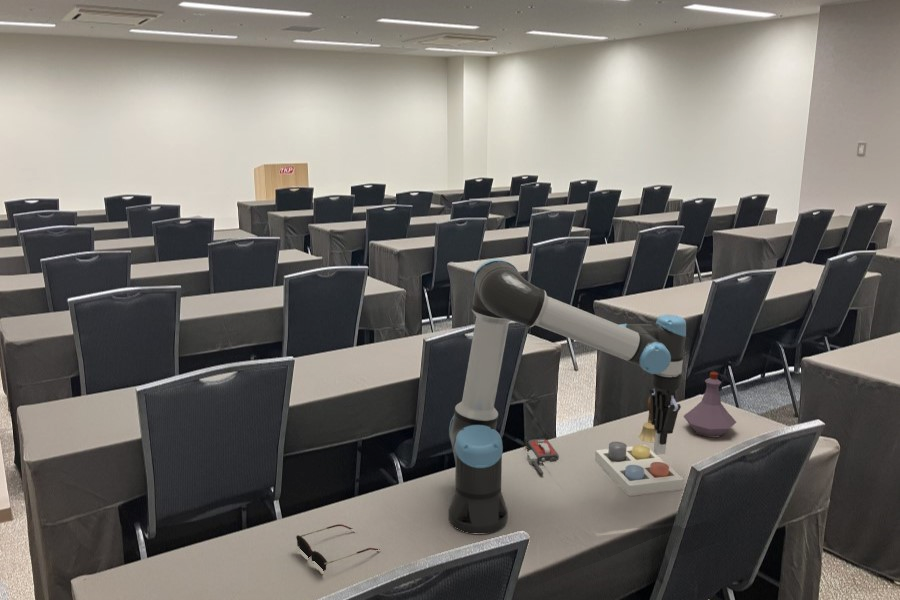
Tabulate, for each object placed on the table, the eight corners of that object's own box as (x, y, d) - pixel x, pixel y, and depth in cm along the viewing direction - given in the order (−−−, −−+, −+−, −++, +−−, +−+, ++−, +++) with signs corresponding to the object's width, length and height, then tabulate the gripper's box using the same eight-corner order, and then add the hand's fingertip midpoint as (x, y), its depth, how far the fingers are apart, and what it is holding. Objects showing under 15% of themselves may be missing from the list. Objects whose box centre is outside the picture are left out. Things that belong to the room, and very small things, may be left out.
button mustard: (636, 466, 218) (637, 453, 217) (628, 458, 223) (629, 446, 222) (652, 464, 219) (653, 451, 218) (644, 456, 224) (644, 444, 223)
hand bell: (631, 437, 241) (634, 390, 237) (653, 433, 244) (657, 387, 240) (645, 448, 234) (648, 399, 230) (668, 444, 236) (672, 396, 232)
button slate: (629, 487, 206) (630, 474, 205) (621, 478, 211) (622, 465, 210) (646, 485, 207) (647, 472, 206) (638, 476, 212) (639, 463, 211)
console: (628, 499, 203) (629, 485, 202) (594, 462, 224) (595, 450, 223) (682, 492, 207) (683, 479, 206) (644, 457, 228) (645, 444, 227)
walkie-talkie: (519, 448, 234) (538, 478, 215) (519, 435, 233) (538, 464, 214) (546, 445, 236) (567, 476, 217) (546, 432, 235) (568, 461, 216)
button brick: (654, 484, 208) (655, 471, 207) (646, 475, 212) (647, 462, 211) (671, 482, 209) (672, 469, 208) (662, 473, 214) (663, 461, 213)
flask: (734, 424, 251) (740, 367, 246) (736, 445, 235) (743, 385, 230) (682, 418, 255) (687, 362, 250) (681, 438, 240) (686, 379, 235)
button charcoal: (612, 462, 216) (613, 449, 215) (605, 455, 221) (606, 442, 220) (628, 460, 217) (629, 448, 216) (621, 453, 222) (621, 440, 221)
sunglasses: (295, 553, 180) (295, 534, 179) (353, 533, 190) (354, 515, 189) (324, 581, 169) (325, 561, 168) (384, 558, 179) (385, 539, 178)
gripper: (692, 380, 197) (683, 462, 203) (667, 363, 210) (660, 441, 216) (666, 381, 196) (658, 465, 202) (642, 365, 208) (635, 444, 214)
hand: (659, 453), depth 209 cm, fingers closed
